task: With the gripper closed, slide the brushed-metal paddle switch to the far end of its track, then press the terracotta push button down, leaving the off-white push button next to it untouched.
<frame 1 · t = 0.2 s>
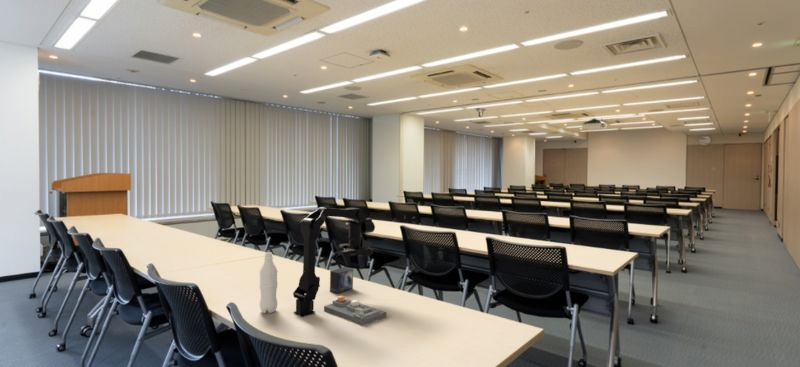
hand: (354, 267, 188), 15 cm above the table, tool pointing down, fingers open, 9 cm apart
water bottle: (268, 311, 170), on the table
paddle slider: (359, 312, 159), point 4 cm above the table, slide at 0.0 cm
orange button: (341, 299, 174), point 4 cm above the table, slide at 0.0 cm
small box: (341, 290, 201), on the table
white button: (355, 303, 168), point 4 cm above the table, slide at 0.0 cm
control panel: (355, 313, 168), on the table
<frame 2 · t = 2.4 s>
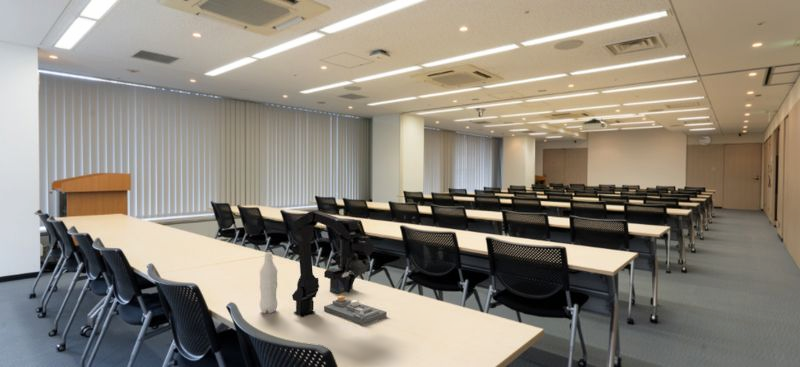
hand: (347, 292, 154), 13 cm above the table, tool pointing down, fingers closed
nothing on the table moved.
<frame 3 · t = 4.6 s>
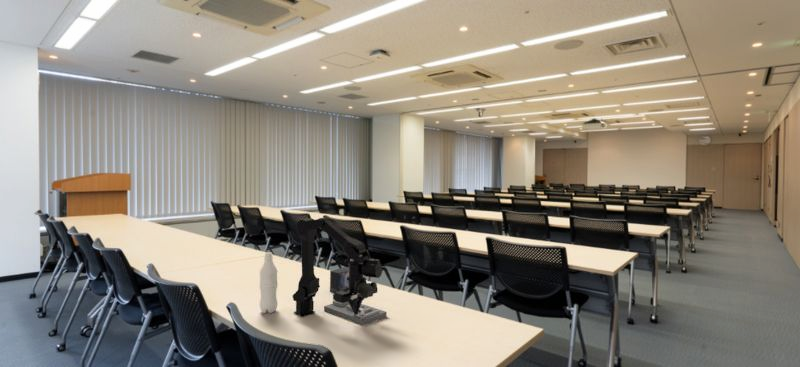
hand: (355, 314, 157), 4 cm above the table, tool pointing down, fingers closed
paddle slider: (359, 312, 159), point 4 cm above the table, slide at 0.3 cm, touching gripper
everything else where it was.
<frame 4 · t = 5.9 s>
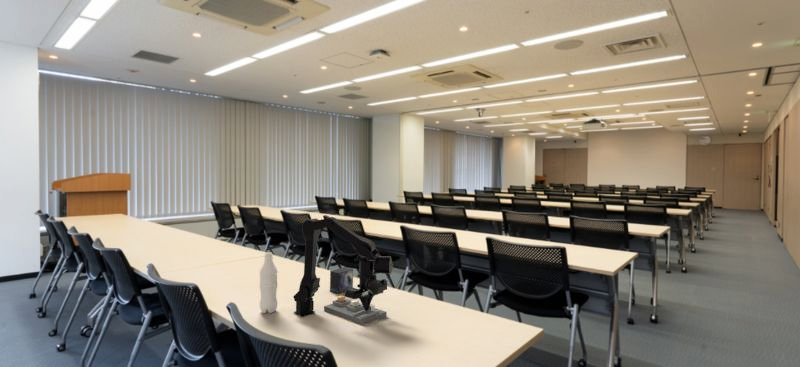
hand: (366, 310, 162), 4 cm above the table, tool pointing down, fingers closed
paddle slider: (370, 308, 163), point 4 cm above the table, slide at 6.0 cm, touching gripper
everything else where it was.
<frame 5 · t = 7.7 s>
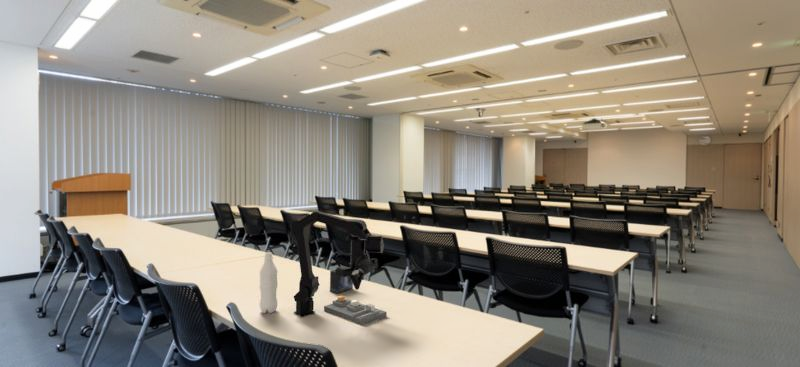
hand: (357, 289, 163), 12 cm above the table, tool pointing down, fingers closed
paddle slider: (370, 308, 163), point 4 cm above the table, slide at 6.0 cm
everything else where it was.
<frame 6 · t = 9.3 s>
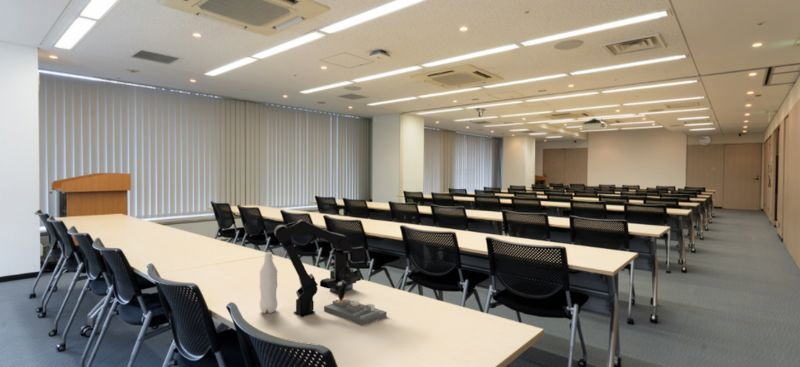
hand: (341, 299, 174), 4 cm above the table, tool pointing down, fingers closed, pressing on orange button
orange button: (341, 301, 174), point 3 cm above the table, slide at 1.2 cm, touching gripper
everything else where it was.
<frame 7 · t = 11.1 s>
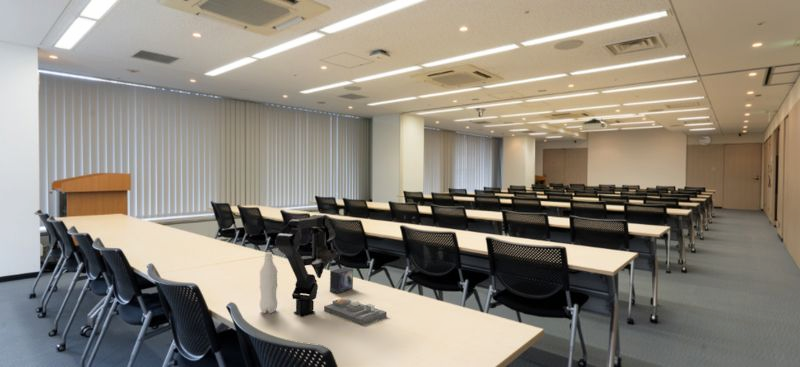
hand: (319, 277, 179), 12 cm above the table, tool pointing down, fingers closed
orange button: (341, 301, 174), point 3 cm above the table, slide at 1.3 cm
everything else where it was.
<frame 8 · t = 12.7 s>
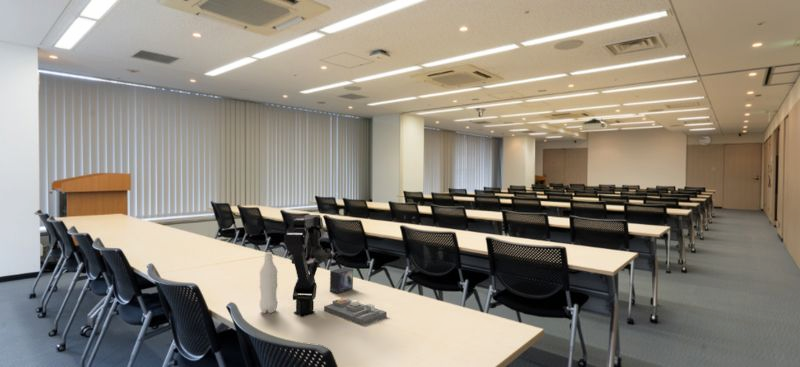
hand: (312, 277, 180), 12 cm above the table, tool pointing down, fingers closed
nothing on the table moved.
at the end: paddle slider slide at 6.0 cm; orange button slide at 1.3 cm; white button slide at 0.0 cm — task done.
